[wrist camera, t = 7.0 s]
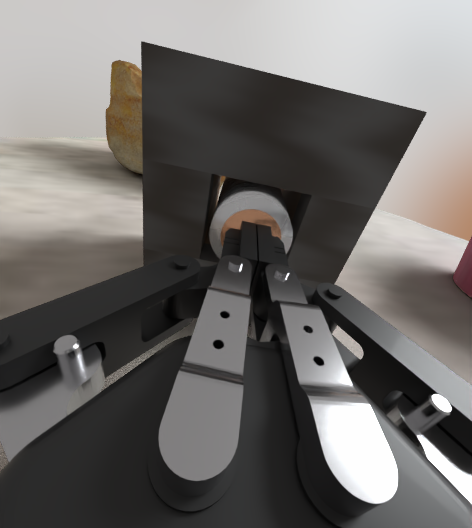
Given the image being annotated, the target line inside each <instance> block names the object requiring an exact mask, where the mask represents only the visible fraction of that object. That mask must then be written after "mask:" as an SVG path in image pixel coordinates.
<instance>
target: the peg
mask: <svg viewBox="0 0 472 528" xmlns="http://www.w3.org/2000/svg"><path fill="white" fill-rule="evenodd" d="M242 221H247V222H251V223H256V224H261V225H266V226H271V231H272V236H274V237H279V238H280V240H281V241H282V242H283V243H284V247H285V252H286V254H287V252H288V250H289V248H290V246H291V243H292V238H293V230H292V225H291V222H290V219H289V215H288V212H287V209H286V205H285V202H284V199H283V196H282V192H281V189H280V188H276V187H272V186H267V185H262V184H258V183H253V182H248V181H244V180H239V179H235V178H230V177H225V180H224V183H223V186H222V190H221V193H220V196H219V200H218V203H217V206H216V210H215V213H214V216H213V219H212V223H211V226H210V233H209V236H210V243H211V246H212V249H213V250H214V252H215V254H216V255H217V256H218V258H219V259H221V253H222V248H223V243H224V238H225V233H226V231H227V230H228V229H230V228H234V229H239V230H240V226H241V222H242Z"/></svg>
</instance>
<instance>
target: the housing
mask: <svg viewBox="0 0 472 528" xmlns="http://www.w3.org/2000/svg"><path fill="white" fill-rule="evenodd" d="M141 56H142V57H141V58H142V158H143V255H144V266H146V265H149V264H152V263H154V262H157V261H160V260H162V259H165V258H168V257H170V256H174V255H186V256H190V257H193V258H194V259H196V260H197V261H198V262H199V263H200V267H206V266H212V265H215V264H217V263H218V262H219V260H220V259H219V258H218V256H217V255H216V254H215V252H214V250H213V249H212V246H211V243H210V236H209V233H210V226H211V223H212V219H213V216H214V213H215V210H216V206H217V203H218V194H219V188H220V182H221V176H225V177H230V178H235V179H239V180H244V181H248V182H253V183H258V184H262V185H267V186H272V187H276V188H280V189H281V192H282V196H283V199H284V202H285V205H286V209H287V212H288V215H289V219H290V222H291V225H292V230H293V238H292V243H291V246H290V248H289V250H288V252H287V254H286V256H287V261H288V265H289V267H290V268H291V269H293V270H294V271H295V272H296V274H297V276H298V278H299V281H300V283H302V284H304V285H306V286H308V287H311V288H313V289H316V288H317V286H318V285H319V284H320V283H331V284H335V282H336V280H337V278H338V276H339V274H340V273H341V271H342V269H343V267H344V265H345V263H346V261H347V260H348V258H349V256H350V254H351V252H352V250H353V248H354V247H355V245H356V243H357V241H358V239H359V237H360V235H361V234H362V232H363V230H364V228H365V226H366V224H367V222H368V221H369V219H370V217H371V215H372V213H373V211H374V209H375V208H376V206H377V204H378V202H379V200H380V198H381V196H382V195H383V193H384V191H385V189H386V187H387V185H388V183H389V182H390V180H391V178H392V176H393V174H394V172H395V170H396V168H397V167H398V165H399V163H400V161H401V159H402V158H403V156H404V154H405V152H406V150H407V148H408V146H409V144H410V143H411V141H412V139H413V137H414V135H415V133H416V132H417V129H418V128H419V126H420V124H421V122H422V120H423V118H424V117H425V115H426V112H424V111H420V110H416V109H412V108H407V107H403V106H399V105H396V104H392V103H388V102H384V101H379V100H376V99H371V98H368V97H363V96H360V95H356V94H351V93H347V92H343V91H339V90H335V89H331V88H327V87H323V86H319V85H315V84H311V83H307V82H303V81H299V80H295V79H291V78H287V77H283V76H279V75H275V74H271V73H267V72H263V71H259V70H255V69H251V68H246V67H242V66H239V65H235V64H231V63H227V62H223V61H219V60H214V59H210V58H206V57H202V56H198V55H194V54H190V53H186V52H182V51H178V50H174V49H170V48H166V47H162V46H158V45H154V44H150V43H146V42H141ZM161 302H162V301H161ZM159 303H160V302H159ZM157 304H158V303H157ZM155 305H156V304H155ZM153 306H154V305H153ZM151 307H152V306H151ZM149 308H150V307H149ZM252 309H253V303H250V313H249V322H248V325H251V319H250V315H251V312H252Z"/></svg>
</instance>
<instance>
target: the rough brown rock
mask: <svg viewBox="0 0 472 528" xmlns="http://www.w3.org/2000/svg"><path fill="white" fill-rule="evenodd" d="M110 94H111V98H110V105H109V107H108V108H107V109H106V135H107V140H108V145H109V148H110V149H111V150H112V152H113V153H114V155H115V158H116V159H117V160H118V161H119V162H120V163H121V164H122V165H123V166H124V167H126V168H127V169H129V170H130V171H133V172H136V173H140V174H143V158H142V71H141V70H140V69H139V68H138V67H137V66H136V65H134V64H132V63H129V62H125V61H121V60H118V61H115V62H113V63H112V72H111V92H110ZM224 180H225V176H221V182H220V187H221V185H222V184H223V182H224ZM219 189H220V188H219Z"/></svg>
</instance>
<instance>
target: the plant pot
mask: <svg viewBox="0 0 472 528" xmlns="http://www.w3.org/2000/svg"><path fill="white" fill-rule="evenodd" d="M453 279H454V282H455V284H456V285H457V286H458V287H459V288H460V289H461V290H462V291H463V292H464V293H466V294H467V295H468V296H469V297H471V298H472V237H471V239H470V241H469V243H468V245H467V247H466V249H465V252H464V254H463V256H462V258H461V260H460V262H459V265H458V267H457V269H456V271H455V273H454V275H453Z"/></svg>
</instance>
